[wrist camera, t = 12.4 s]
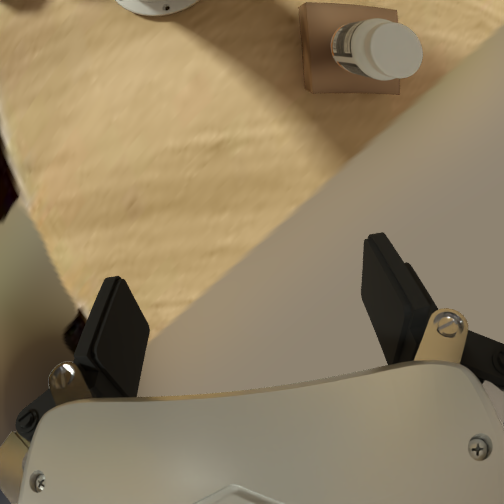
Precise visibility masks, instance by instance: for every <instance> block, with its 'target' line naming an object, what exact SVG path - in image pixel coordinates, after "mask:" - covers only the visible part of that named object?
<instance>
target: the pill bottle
mask: <svg viewBox="0 0 504 504" xmlns="http://www.w3.org/2000/svg"><path fill="white" fill-rule="evenodd" d="M331 52H332V56H333V58H334V60H335V61H336V62H337V64H338V65H339V66H340V67H342V68H343V69H344V70H346V71H348V72H350V73H354V74H357V75H361V76H365V77H369V78H373V79H376V80H382V81H383V80H392V79H395V78H406V77H409V76H411V75H413V74H414V73H415V72H416V71H417V70H418V69H419V67H420V65H421V63H422V58H423V51H422V46H421V43H420V41H419V39H418V37H417V36H416V34H415V33H414V32H413V31H412V30H411V29H409V28H408V27H406V26H405V25H402V24H400V23H395V22H391V21H389V20H386V19H380V18H373V19H368V20H363V21H358V22H353V23H349V24H346V25H343V26H341V27H340V28H339V29H337V30H336V32H335V33H334V35H333V37H332V40H331Z"/></svg>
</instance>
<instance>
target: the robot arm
mask: <svg viewBox="0 0 504 504" xmlns="http://www.w3.org/2000/svg"><path fill="white" fill-rule="evenodd" d="M115 1H116V2H117V3H118V4H119V5H120V6H122V7H123V8H124V9H126V10H129V11H131V12H133V13H136V14H139V15H145V16H164V15H170V14H174V13H177V12H180V11H183V10H185V9H187V8H189V7H191V6H193V5H194V4H195V3H197V2H198V1H200V0H115ZM166 7H170V9H169V10H166ZM361 296H362V300H363V303H364V305H365V307H366V310H367V312H368V315H369V317H370V320H371V322H372V325H373V327H374V330H375V332H376V335H377V337H378V340H379V342H380V345H381V348H382V350H383V353H384V355H385V358H386V361H387V363H388V365H386V366H382V367H377V368H373V369H368V370H363V371H358V372H353V373H349V374H343V375H338V376H333V377H328V378H323V379H317V380H312V381H306V382H300V383H293V384H287V385H281V386H273V387H266V388H258V389H250V390H241V391H232V392H221V393H210V394H197V395H182V396H161V397H137V392H138V386H139V381H140V376H141V371H142V365H143V361H144V356H145V351H146V346H147V342H148V337H149V332H150V329H149V325H148V323H147V321H146V319H145V317H144V315H143V313H142V312H141V310H140V308H139V306H138V304H137V302H136V300H135V298H134V296H133V295H132V293H131V291H130V289H129V287H128V285H127V283H126V281H125V280H124V279H121V277H119V276H115V277H109V278H105V280H104V282H103V284H102V286H101V288H100V291H99V293H98V295H97V298H96V300H95V303H94V305H93V307H92V310H91V312H90V315H89V317H88V320H87V322H86V325H85V327H84V330H83V332H82V335H81V338H80V340H79V343H78V345H77V348H76V351H75V354H74V357H75V359H74V362H69V361H66V362H62V363H61V364H59V365H57V366H56V367H55V368H54V369H53V371H52V372H51V373H50V376H49V380H48V384H49V388H50V389H48V390H47V391H46V392H44V393H43V394H42V395H41V396H39V397H38V398H37V399H36V400H34V401H33V402H32V403H31V404H29V405H28V406H27V407H25V408H24V409H23V410H22V411H21V412H20V413H19V415H18V417H17V420H16V430H17V431H16V432H14V431H12V432H11V433H10V435H9V436H8V437H7V439H6V440H5V441H4V443H3V444H2V445H1V447H0V489H1V490H2V492H3V493H4V494H5V496H6V497H7V498H8V499H9V501H10V502H11V503H12V504H504V430H503V427H502V424H501V422H500V420H499V418H500V419H501V421H502V422H503V424H504V344H502V343H500V342H497V341H495V340H492V339H490V338H487V337H485V336H482V335H479V334H477V333H474V332H472V331H469V330H468V323H467V320H466V319H465V317H464V316H463V315H462V314H461V313H459V312H458V311H455V310H453V309H448V308H446V309H445V308H444V309H439V310H438V308H437V306H436V305H435V303H434V301H433V300H432V298H431V296H430V295H429V293H428V292H427V290H426V289H425V287H424V285H423V284H422V282H421V280H420V279H419V277H418V276H417V274H416V272H415V271H414V269H413V268H412V267H411V265H410V264H409V263H404V262H403V261H402V259H401V257H400V256H399V254H398V253H397V251H396V250H395V249H394V247H393V245H392V244H391V242H390V241H389V239H388V238H387V237H386V235H385V234H384V233H376V234H370V235H369V236H368V239H365V240H364V252H363V271H362V286H361Z"/></svg>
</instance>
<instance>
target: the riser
mask: <svg viewBox="0 0 504 504" xmlns="http://www.w3.org/2000/svg"><path fill="white" fill-rule="evenodd" d="M298 9H299V19H300V30H301V41H302V54H303V67H304V83H305V89H306V90H308V91H310V92H311V93H376V94H396V95H400V78H395V79H392V80H383V81H382V80H376V79H373V78H369V77H365V76H361V75H357V74H354V73H350V72H348V71H346V70H344V69H343V68H342V67H340V66H339V65H338V64H337V62H336V61H335V60H334V58H333V56H332V52H331V40H332V37H333V35H334V33H335V32H336V30H337V29H339V28H340V27H341V26H343V25H346V24H349V23H353V22H358V21H363V20H368V19H373V18H380V19H386V20H389V21H391V22H395V23H398V17H397V10H392V9H385V8H378V7H369V6H360V5H349V4H335V3H310V2H306V3H304V4H303V5H301V6H300V7H298Z"/></svg>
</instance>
